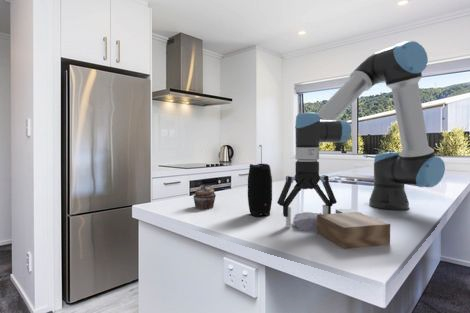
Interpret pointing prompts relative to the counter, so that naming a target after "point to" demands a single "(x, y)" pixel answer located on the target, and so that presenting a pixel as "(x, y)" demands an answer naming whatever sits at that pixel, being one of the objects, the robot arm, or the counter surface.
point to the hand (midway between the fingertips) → (306, 225)
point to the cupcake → (204, 197)
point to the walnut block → (353, 230)
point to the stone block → (306, 221)
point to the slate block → (346, 210)
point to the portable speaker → (259, 189)
